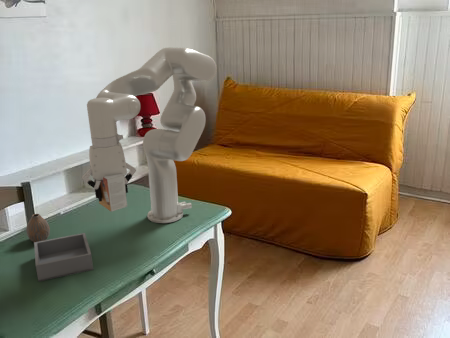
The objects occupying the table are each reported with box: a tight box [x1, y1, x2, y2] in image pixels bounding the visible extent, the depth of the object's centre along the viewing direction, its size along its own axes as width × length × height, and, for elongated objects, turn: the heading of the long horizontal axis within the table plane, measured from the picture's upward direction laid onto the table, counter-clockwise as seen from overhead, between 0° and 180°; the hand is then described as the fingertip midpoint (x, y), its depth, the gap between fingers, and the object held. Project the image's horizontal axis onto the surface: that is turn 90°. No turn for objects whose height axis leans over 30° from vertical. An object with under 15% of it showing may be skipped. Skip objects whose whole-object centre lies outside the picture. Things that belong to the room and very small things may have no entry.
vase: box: [26, 213, 51, 243], centre depth 147 cm, size 7×7×9 cm
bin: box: [33, 232, 94, 283], centre depth 134 cm, size 15×15×5 cm
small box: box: [98, 174, 128, 213], centre depth 139 cm, size 8×6×10 cm
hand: (112, 197), depth 140 cm, fingers closed on small box, 6 cm apart
